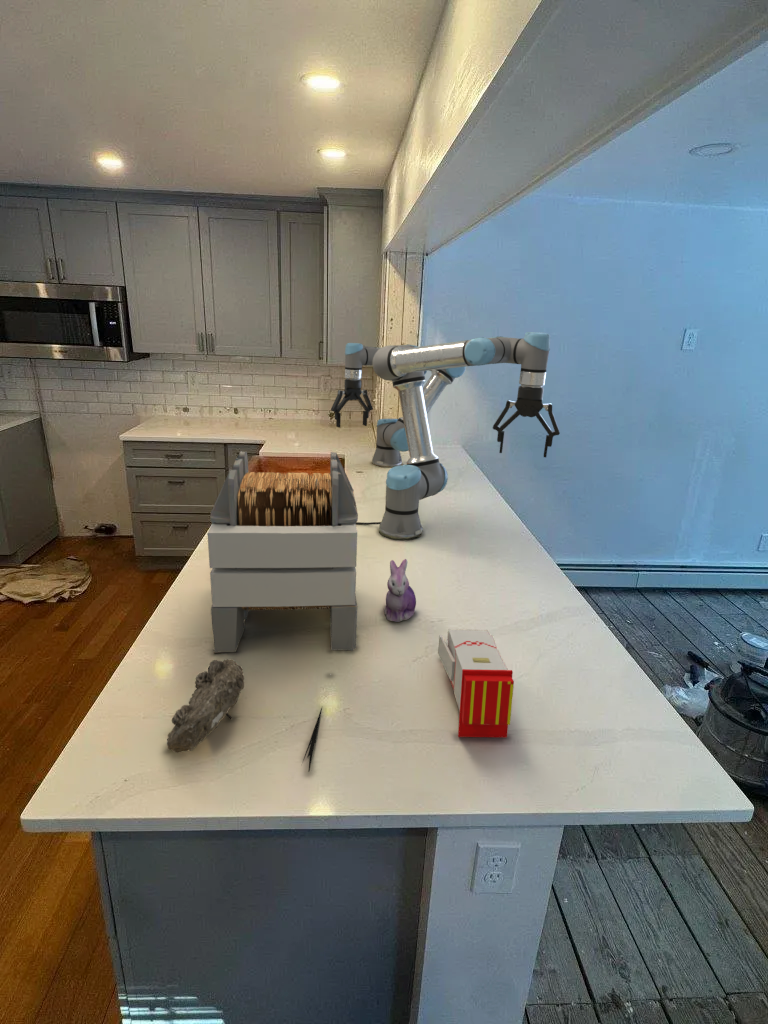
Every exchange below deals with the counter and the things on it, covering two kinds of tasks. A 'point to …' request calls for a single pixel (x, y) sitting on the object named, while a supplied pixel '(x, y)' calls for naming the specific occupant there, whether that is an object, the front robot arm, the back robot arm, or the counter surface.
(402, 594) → the figurine
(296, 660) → the counter surface
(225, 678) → the fossil
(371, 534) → the counter surface
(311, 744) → the feather
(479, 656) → the toy
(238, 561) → the file storage bin
